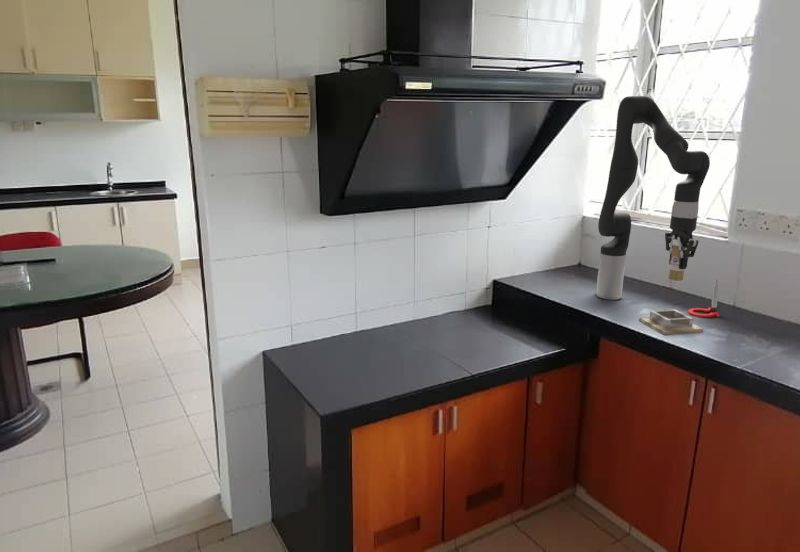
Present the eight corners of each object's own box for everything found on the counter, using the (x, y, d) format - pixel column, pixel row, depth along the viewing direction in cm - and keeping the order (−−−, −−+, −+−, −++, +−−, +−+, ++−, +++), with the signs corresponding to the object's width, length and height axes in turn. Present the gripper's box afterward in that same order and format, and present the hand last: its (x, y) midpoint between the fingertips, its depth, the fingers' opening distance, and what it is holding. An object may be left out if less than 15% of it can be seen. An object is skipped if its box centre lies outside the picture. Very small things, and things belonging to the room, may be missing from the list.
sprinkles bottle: (666, 279, 188) (671, 239, 185) (670, 276, 192) (675, 237, 188) (681, 282, 186) (686, 241, 182) (685, 279, 189) (690, 239, 185)
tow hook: (694, 318, 201) (721, 318, 200) (697, 283, 198) (725, 282, 197) (683, 311, 209) (710, 310, 209) (686, 277, 206) (713, 276, 205)
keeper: (639, 320, 198) (640, 309, 197) (675, 317, 201) (677, 306, 200) (663, 334, 185) (665, 323, 184) (702, 331, 187) (704, 320, 186)
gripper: (660, 211, 189) (653, 262, 194) (688, 219, 176) (681, 273, 180) (680, 211, 190) (674, 261, 195) (710, 218, 177) (702, 272, 181)
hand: (677, 266), depth 188 cm, fingers closed on sprinkles bottle, 4 cm apart
